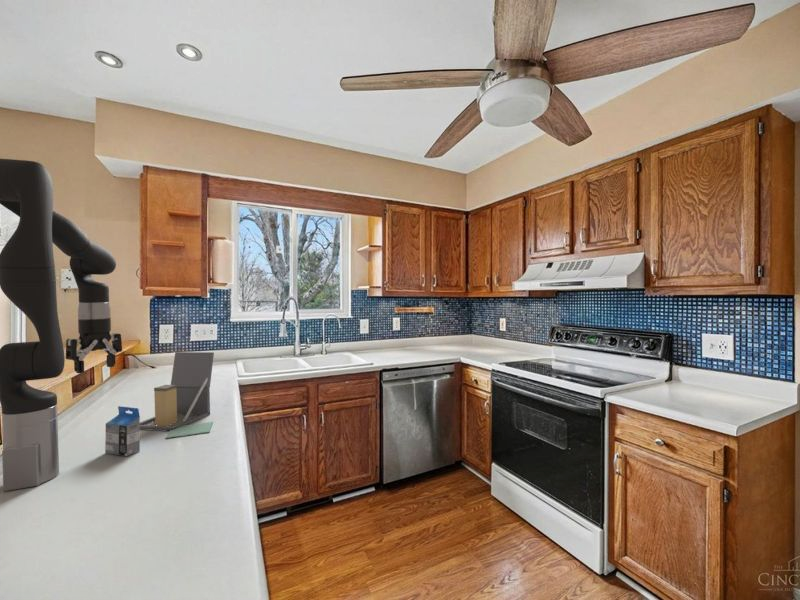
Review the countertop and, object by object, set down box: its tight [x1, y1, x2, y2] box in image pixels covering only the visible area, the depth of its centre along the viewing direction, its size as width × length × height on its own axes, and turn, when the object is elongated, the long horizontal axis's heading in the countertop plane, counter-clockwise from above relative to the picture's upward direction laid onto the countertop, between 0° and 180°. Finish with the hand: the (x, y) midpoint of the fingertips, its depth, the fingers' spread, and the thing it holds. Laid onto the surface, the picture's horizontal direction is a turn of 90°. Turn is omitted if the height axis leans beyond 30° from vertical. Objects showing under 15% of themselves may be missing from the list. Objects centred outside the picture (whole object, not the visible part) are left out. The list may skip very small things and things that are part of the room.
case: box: [140, 351, 215, 431], centre depth 127 cm, size 20×16×23 cm
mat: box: [165, 421, 214, 439], centre depth 116 cm, size 10×12×1 cm
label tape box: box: [104, 405, 141, 457], centre depth 100 cm, size 9×4×12 cm, turn 72°
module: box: [153, 384, 178, 426], centre depth 123 cm, size 5×5×13 cm
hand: (96, 369), depth 109 cm, fingers open, 8 cm apart
